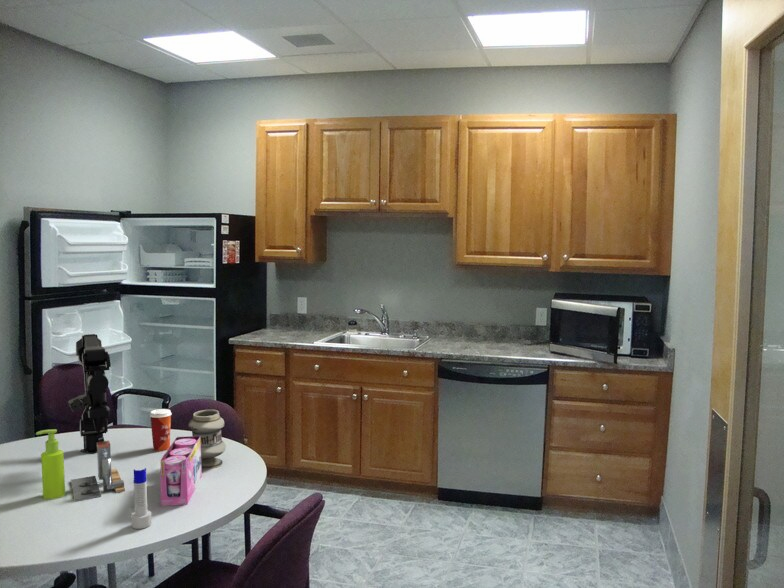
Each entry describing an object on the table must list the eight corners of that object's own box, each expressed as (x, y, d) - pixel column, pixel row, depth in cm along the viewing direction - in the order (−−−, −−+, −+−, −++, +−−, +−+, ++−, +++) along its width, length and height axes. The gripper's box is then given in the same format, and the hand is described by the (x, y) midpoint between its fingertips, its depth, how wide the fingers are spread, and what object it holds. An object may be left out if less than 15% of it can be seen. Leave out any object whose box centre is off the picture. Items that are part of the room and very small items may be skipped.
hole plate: (71, 481, 206) (70, 479, 206) (97, 477, 209) (97, 475, 209) (75, 501, 190) (75, 499, 190) (103, 496, 194) (103, 494, 194)
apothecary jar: (182, 468, 217) (180, 416, 215) (201, 457, 229) (199, 406, 227) (215, 471, 214) (213, 418, 213) (232, 459, 226) (231, 409, 224)
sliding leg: (98, 482, 204) (96, 442, 203) (110, 480, 206) (108, 440, 205) (99, 486, 201) (97, 445, 200) (111, 484, 203) (110, 443, 202)
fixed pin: (102, 490, 198) (101, 458, 198) (123, 486, 201) (122, 455, 200) (103, 492, 196) (102, 460, 196) (124, 489, 199) (123, 457, 198)
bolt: (130, 523, 175) (150, 519, 178) (132, 530, 171) (152, 527, 173) (128, 467, 174) (148, 464, 176) (130, 473, 169) (151, 469, 172)
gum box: (187, 506, 186) (186, 460, 185) (158, 508, 186) (157, 461, 184) (202, 476, 210) (201, 435, 209) (177, 477, 209) (175, 436, 208)
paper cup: (168, 452, 234) (167, 414, 233) (147, 452, 234) (145, 413, 233) (175, 445, 242) (174, 408, 240) (155, 445, 242) (154, 408, 241)
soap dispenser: (40, 493, 196) (37, 428, 194) (66, 490, 198) (63, 426, 197) (37, 501, 190) (34, 434, 189) (63, 497, 193) (61, 431, 191)
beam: (108, 472, 214) (108, 469, 214) (116, 470, 215) (116, 468, 215) (116, 492, 196) (116, 490, 196) (125, 491, 198) (124, 488, 198)
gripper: (67, 383, 221) (69, 428, 222) (71, 394, 204) (73, 443, 206) (103, 380, 226) (104, 423, 227) (109, 390, 210) (111, 438, 211)
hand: (98, 432), depth 218 cm, fingers closed
